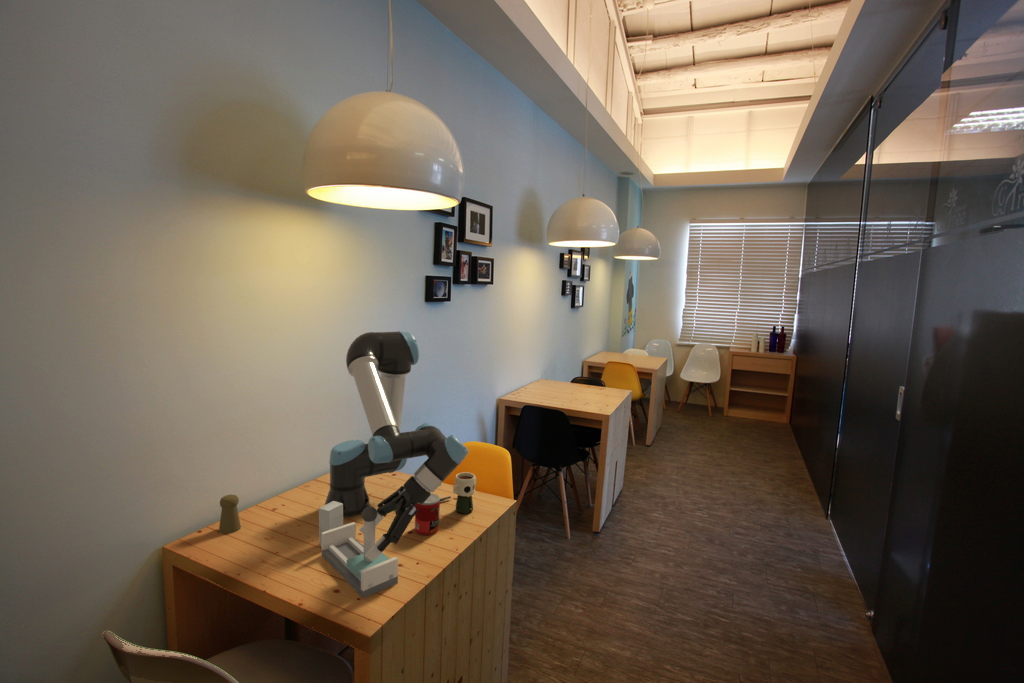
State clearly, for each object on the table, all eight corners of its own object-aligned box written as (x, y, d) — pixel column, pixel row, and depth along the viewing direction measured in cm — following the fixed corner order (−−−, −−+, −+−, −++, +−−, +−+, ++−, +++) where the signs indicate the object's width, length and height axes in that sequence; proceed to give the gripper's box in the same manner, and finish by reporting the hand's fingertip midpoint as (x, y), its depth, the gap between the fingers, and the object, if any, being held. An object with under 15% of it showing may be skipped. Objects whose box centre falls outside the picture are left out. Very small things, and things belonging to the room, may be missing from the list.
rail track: (321, 555, 140) (321, 532, 139) (353, 543, 146) (354, 522, 146) (362, 598, 121) (363, 572, 120) (397, 583, 128) (398, 558, 127)
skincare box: (333, 536, 150) (333, 500, 149) (343, 539, 148) (343, 503, 147) (318, 545, 145) (318, 507, 143) (328, 549, 143) (328, 511, 142)
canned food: (434, 537, 152) (434, 504, 151) (410, 533, 154) (411, 501, 153) (442, 526, 160) (443, 494, 158) (420, 522, 161) (420, 491, 160)
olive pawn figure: (216, 528, 152) (215, 495, 151) (237, 522, 156) (236, 490, 155) (222, 536, 148) (221, 502, 147) (243, 529, 152) (242, 496, 151)
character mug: (460, 519, 165) (461, 483, 163) (446, 512, 169) (447, 477, 168) (481, 509, 173) (483, 474, 172) (468, 502, 178) (469, 469, 176)
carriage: (346, 566, 128) (346, 506, 127) (377, 554, 135) (377, 497, 133) (360, 580, 123) (360, 517, 121) (391, 567, 129) (392, 507, 127)
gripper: (443, 511, 122) (382, 578, 117) (421, 475, 144) (370, 530, 140) (423, 494, 119) (360, 562, 115) (404, 460, 142) (351, 516, 137)
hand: (365, 545), depth 127 cm, fingers open, 13 cm apart
